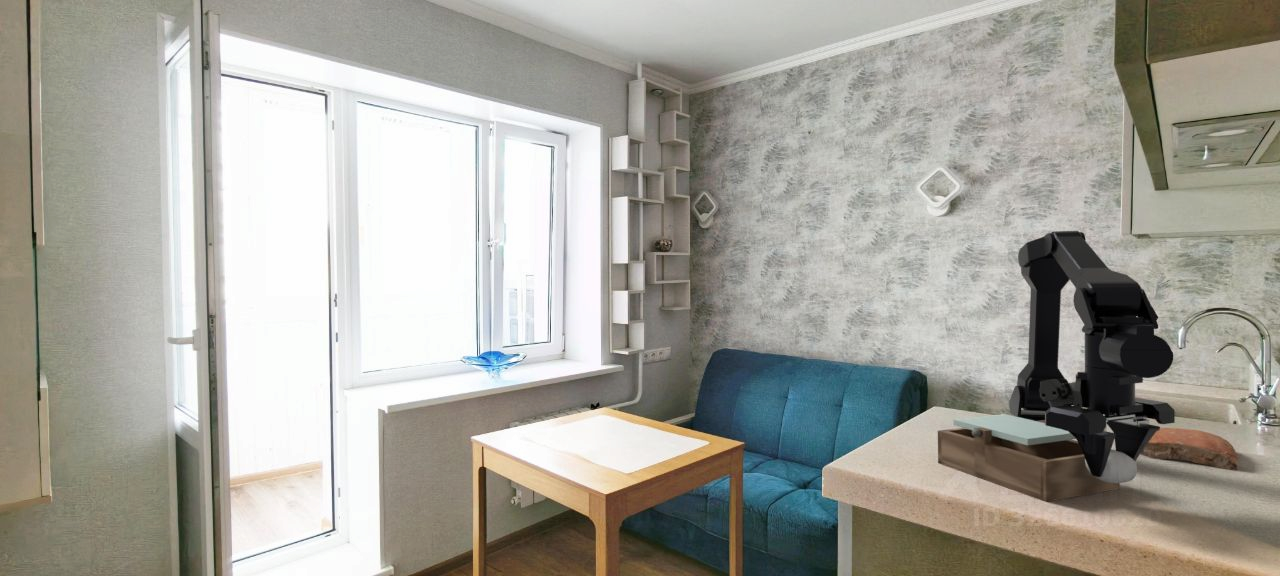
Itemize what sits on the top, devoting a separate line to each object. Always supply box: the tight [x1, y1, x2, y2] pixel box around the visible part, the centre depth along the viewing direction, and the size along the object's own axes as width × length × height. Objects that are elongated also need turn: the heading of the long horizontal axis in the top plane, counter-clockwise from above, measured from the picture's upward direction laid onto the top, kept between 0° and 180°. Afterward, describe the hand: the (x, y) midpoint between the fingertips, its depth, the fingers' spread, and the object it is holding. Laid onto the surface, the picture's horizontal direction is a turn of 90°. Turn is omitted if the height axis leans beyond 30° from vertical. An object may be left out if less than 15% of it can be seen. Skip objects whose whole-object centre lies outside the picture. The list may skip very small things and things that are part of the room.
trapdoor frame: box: [937, 420, 1121, 502], centre depth 99 cm, size 18×20×8 cm
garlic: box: [1085, 449, 1138, 484], centre depth 86 cm, size 6×5×5 cm
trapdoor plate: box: [952, 413, 1077, 445], centre depth 100 cm, size 12×14×1 cm
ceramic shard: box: [1140, 427, 1240, 471], centre depth 109 cm, size 15×6×15 cm
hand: (1110, 473), depth 86 cm, fingers closed on garlic, 5 cm apart
